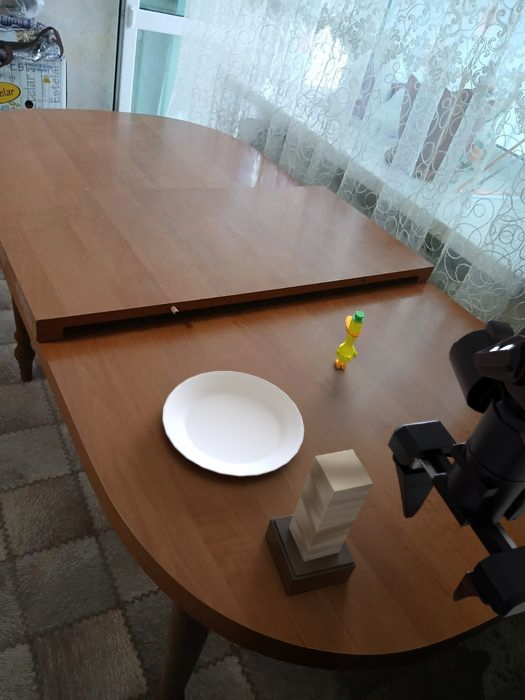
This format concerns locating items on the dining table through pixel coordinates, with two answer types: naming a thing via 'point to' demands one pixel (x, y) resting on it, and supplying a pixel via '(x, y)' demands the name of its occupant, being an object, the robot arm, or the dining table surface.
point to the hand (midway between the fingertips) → (431, 555)
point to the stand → (310, 572)
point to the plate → (233, 423)
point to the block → (329, 504)
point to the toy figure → (350, 339)
